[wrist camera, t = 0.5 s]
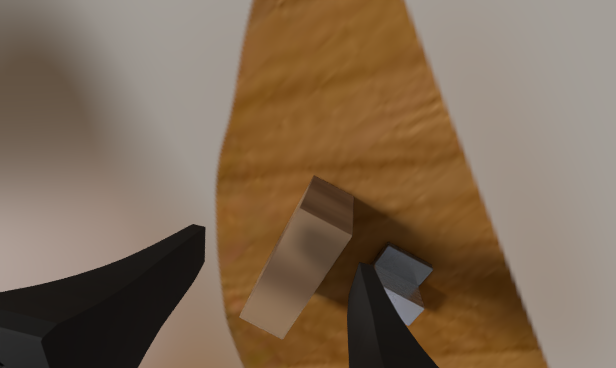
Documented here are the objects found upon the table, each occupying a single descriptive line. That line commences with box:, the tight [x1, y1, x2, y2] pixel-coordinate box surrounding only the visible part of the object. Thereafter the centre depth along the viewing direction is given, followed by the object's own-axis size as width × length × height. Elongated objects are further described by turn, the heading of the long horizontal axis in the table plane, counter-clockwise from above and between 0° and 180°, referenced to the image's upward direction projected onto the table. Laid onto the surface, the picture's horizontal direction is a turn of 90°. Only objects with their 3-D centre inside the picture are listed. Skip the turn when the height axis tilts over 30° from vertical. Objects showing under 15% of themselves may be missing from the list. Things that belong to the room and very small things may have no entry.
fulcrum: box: [371, 242, 433, 325], centre depth 23 cm, size 6×4×3 cm, turn 153°
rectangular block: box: [239, 176, 354, 340], centre depth 22 cm, size 10×4×6 cm, turn 153°
